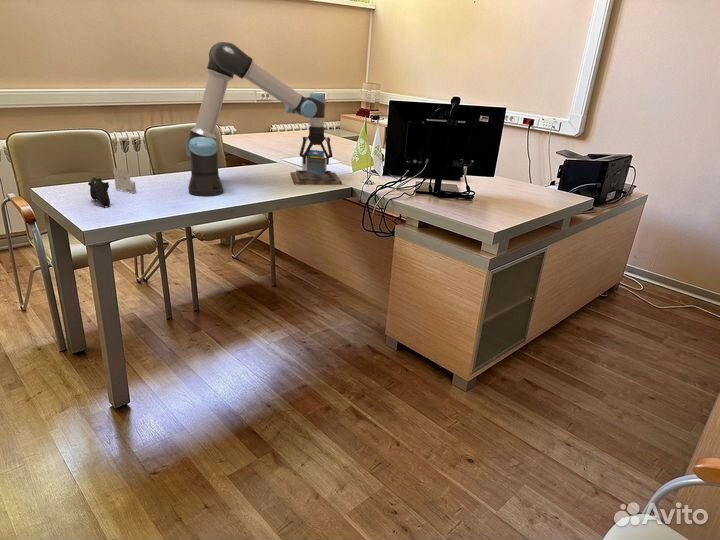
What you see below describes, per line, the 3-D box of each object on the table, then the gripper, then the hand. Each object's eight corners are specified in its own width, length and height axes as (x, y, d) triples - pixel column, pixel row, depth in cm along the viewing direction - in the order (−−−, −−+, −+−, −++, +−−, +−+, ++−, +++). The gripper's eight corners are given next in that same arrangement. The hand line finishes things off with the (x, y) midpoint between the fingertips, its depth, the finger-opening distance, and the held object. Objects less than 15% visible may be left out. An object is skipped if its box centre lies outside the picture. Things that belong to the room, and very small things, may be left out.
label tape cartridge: (324, 173, 263) (325, 149, 258) (323, 175, 259) (324, 151, 254) (307, 172, 264) (308, 148, 259) (306, 173, 260) (306, 149, 255)
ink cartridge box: (120, 188, 226) (117, 166, 222) (136, 193, 221) (134, 170, 217) (115, 189, 224) (112, 167, 220) (131, 194, 219) (129, 171, 215)
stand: (294, 184, 251) (294, 179, 250) (290, 174, 269) (290, 169, 268) (341, 184, 256) (341, 179, 255) (334, 175, 275) (335, 170, 274)
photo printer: (319, 171, 282) (320, 148, 277) (321, 172, 278) (321, 150, 273) (301, 171, 279) (301, 148, 275) (302, 172, 276) (302, 149, 271)
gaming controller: (86, 200, 207) (82, 176, 203) (101, 198, 211) (98, 174, 207) (98, 208, 198) (95, 183, 194) (114, 206, 202) (111, 181, 198)
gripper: (295, 126, 246) (294, 172, 255) (339, 127, 251) (337, 172, 260) (293, 124, 253) (293, 168, 262) (337, 125, 258) (335, 169, 267)
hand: (315, 170), depth 261 cm, fingers closed on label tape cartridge, 9 cm apart
